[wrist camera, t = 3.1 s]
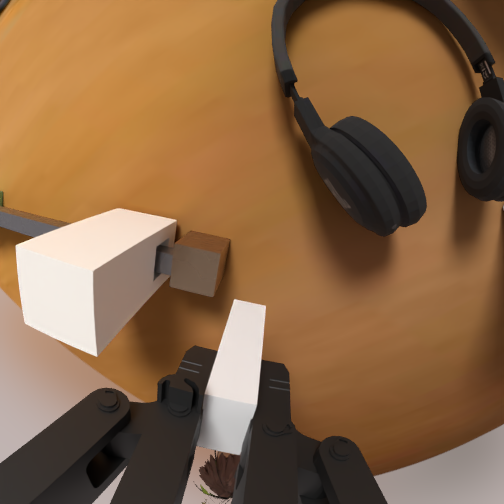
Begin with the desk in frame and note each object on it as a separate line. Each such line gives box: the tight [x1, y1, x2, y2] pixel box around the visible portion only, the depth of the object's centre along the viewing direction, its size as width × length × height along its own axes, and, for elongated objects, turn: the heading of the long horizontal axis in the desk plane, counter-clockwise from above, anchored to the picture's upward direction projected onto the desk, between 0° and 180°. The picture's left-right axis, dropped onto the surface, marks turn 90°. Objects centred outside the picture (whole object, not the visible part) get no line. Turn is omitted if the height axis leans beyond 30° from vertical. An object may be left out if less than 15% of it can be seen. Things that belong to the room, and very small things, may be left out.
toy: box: [199, 450, 241, 504], centre depth 18 cm, size 6×6×15 cm
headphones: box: [271, 0, 504, 237], centre depth 15 cm, size 17×8×20 cm
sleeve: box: [16, 208, 177, 357], centre depth 17 cm, size 5×4×11 cm
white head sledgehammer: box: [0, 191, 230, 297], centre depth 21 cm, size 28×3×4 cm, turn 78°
